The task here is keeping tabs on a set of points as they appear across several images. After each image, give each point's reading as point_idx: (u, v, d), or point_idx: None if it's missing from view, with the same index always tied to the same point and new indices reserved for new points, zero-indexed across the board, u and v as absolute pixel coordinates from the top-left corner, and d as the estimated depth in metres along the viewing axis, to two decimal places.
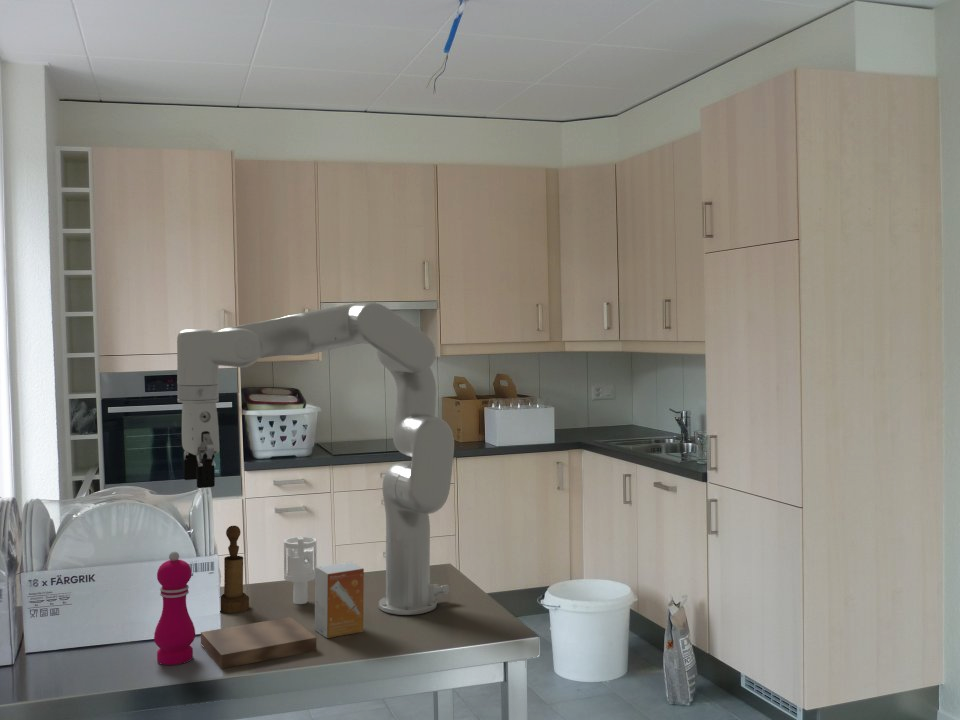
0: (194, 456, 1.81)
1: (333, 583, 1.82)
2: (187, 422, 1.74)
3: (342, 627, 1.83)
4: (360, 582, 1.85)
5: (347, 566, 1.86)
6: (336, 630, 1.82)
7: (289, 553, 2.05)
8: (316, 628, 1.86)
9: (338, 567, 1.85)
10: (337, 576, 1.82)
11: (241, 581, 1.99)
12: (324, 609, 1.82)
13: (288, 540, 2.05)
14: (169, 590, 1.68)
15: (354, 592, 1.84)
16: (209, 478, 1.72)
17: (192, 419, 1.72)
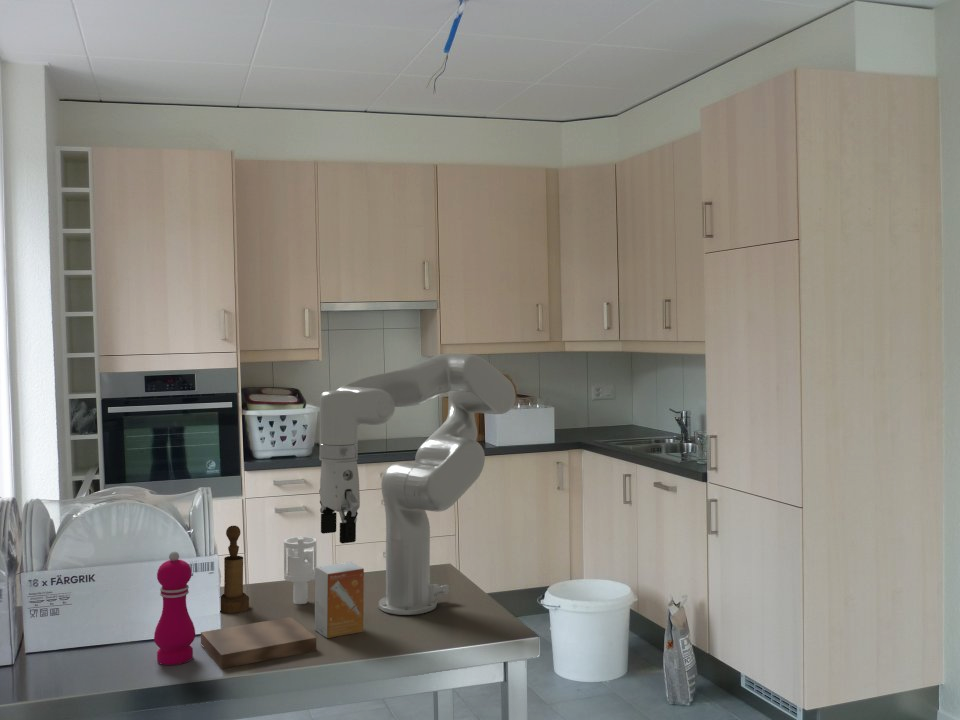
0: (330, 510, 1.89)
1: (333, 583, 1.82)
2: (329, 480, 1.82)
3: (342, 627, 1.83)
4: (360, 582, 1.85)
5: (347, 566, 1.86)
6: (336, 630, 1.82)
7: (289, 553, 2.05)
8: (316, 628, 1.86)
9: (338, 567, 1.85)
10: (337, 576, 1.82)
11: (241, 581, 1.99)
12: (325, 609, 1.82)
13: (288, 540, 2.05)
14: (169, 590, 1.68)
15: (354, 592, 1.84)
16: (351, 534, 1.80)
17: (336, 477, 1.80)
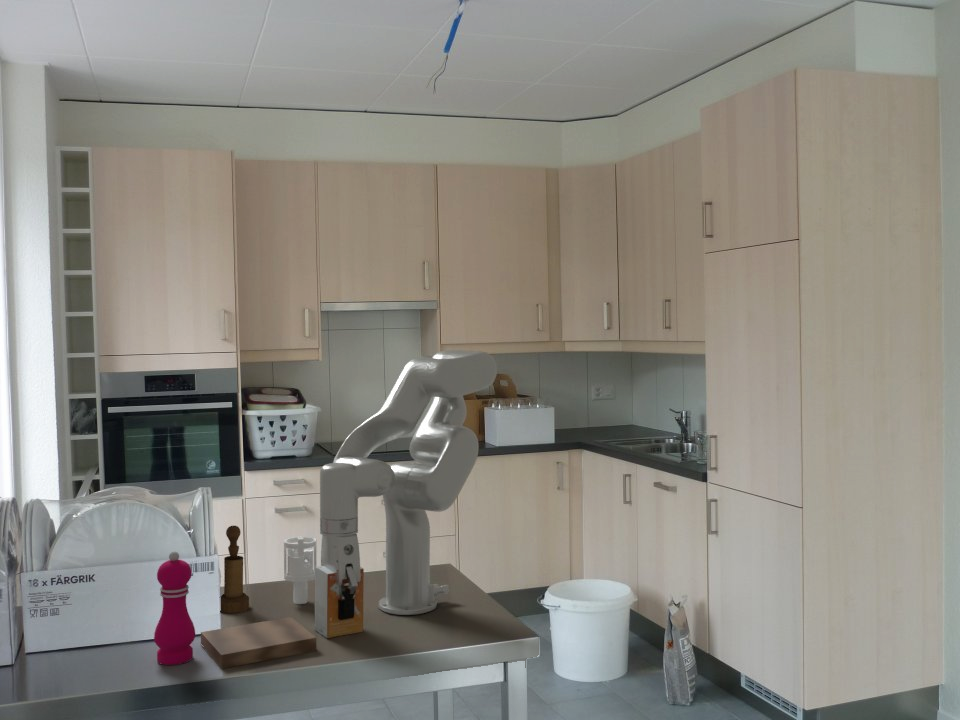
0: None
1: (332, 583, 1.82)
2: (330, 554, 1.83)
3: (342, 627, 1.83)
4: (360, 582, 1.85)
5: None
6: (336, 630, 1.82)
7: (289, 553, 2.05)
8: (316, 628, 1.86)
9: None
10: None
11: (241, 581, 1.99)
12: (324, 609, 1.82)
13: (288, 540, 2.05)
14: (169, 590, 1.68)
15: None
16: (350, 610, 1.82)
17: (336, 552, 1.81)
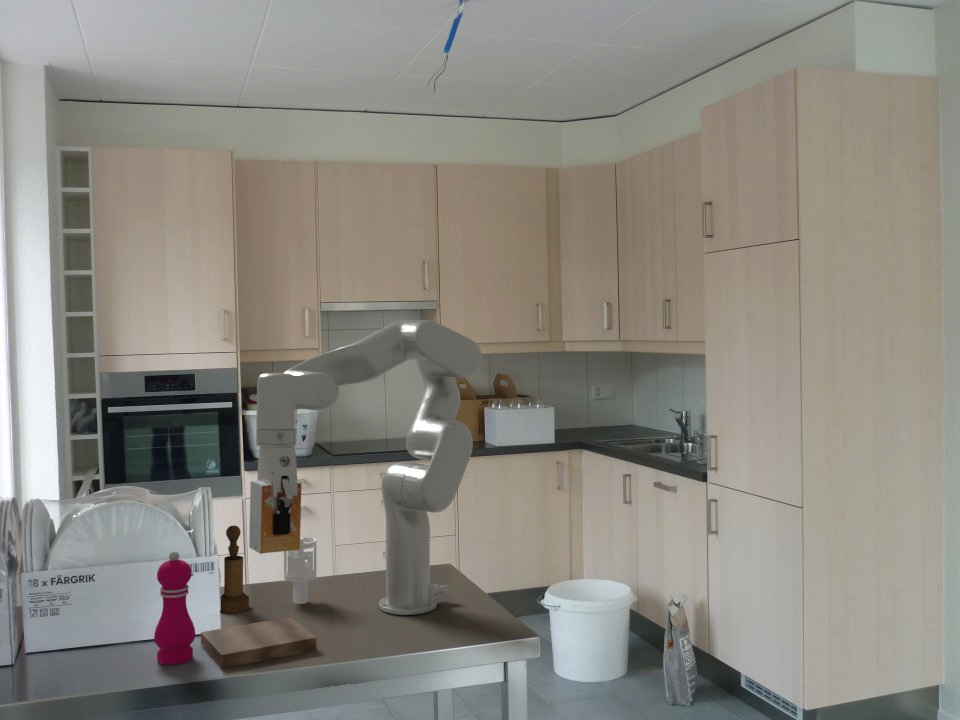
0: None
1: (267, 496, 1.73)
2: (266, 466, 1.74)
3: (277, 544, 1.75)
4: (297, 497, 1.76)
5: None
6: (270, 546, 1.74)
7: (289, 553, 2.05)
8: (250, 545, 1.77)
9: None
10: None
11: (241, 581, 1.99)
12: (258, 523, 1.73)
13: None
14: (169, 590, 1.68)
15: (291, 507, 1.76)
16: (285, 525, 1.74)
17: (272, 463, 1.73)
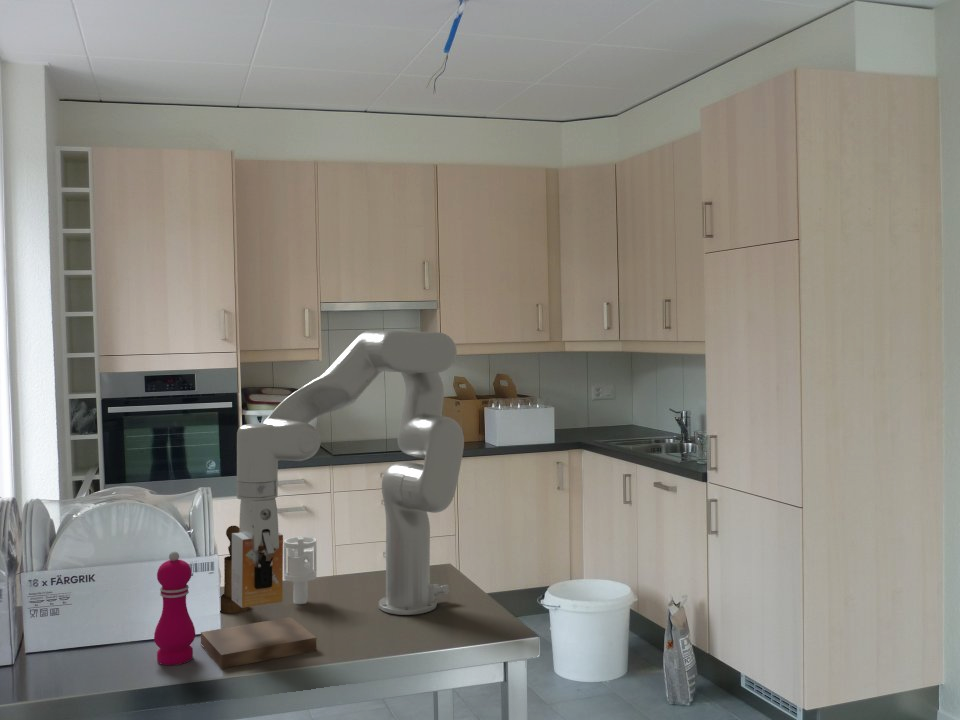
0: None
1: (248, 549, 1.71)
2: (247, 519, 1.73)
3: (259, 597, 1.73)
4: (279, 549, 1.75)
5: None
6: (252, 599, 1.72)
7: (289, 553, 2.05)
8: (232, 598, 1.76)
9: None
10: None
11: None
12: (240, 577, 1.72)
13: (288, 540, 2.05)
14: (169, 590, 1.68)
15: (273, 559, 1.74)
16: (267, 579, 1.72)
17: (252, 517, 1.71)
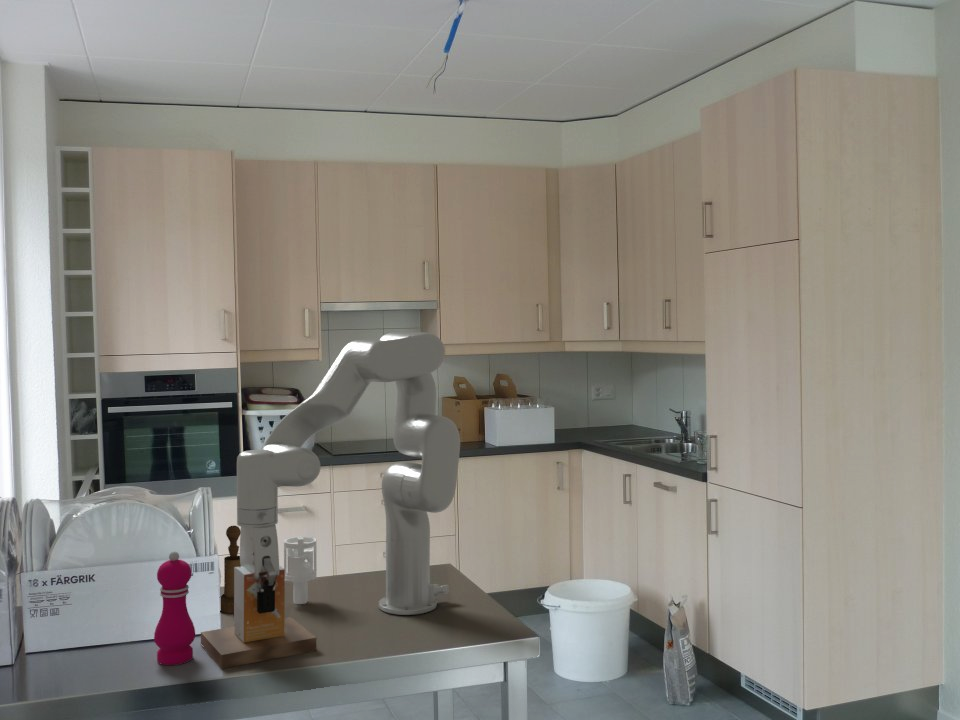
0: None
1: (250, 584, 1.72)
2: (247, 545, 1.73)
3: (261, 631, 1.73)
4: (281, 584, 1.75)
5: None
6: (254, 634, 1.72)
7: (289, 553, 2.05)
8: (235, 631, 1.76)
9: None
10: None
11: None
12: (241, 612, 1.72)
13: (288, 540, 2.05)
14: (169, 590, 1.68)
15: None
16: (270, 603, 1.71)
17: (253, 544, 1.71)
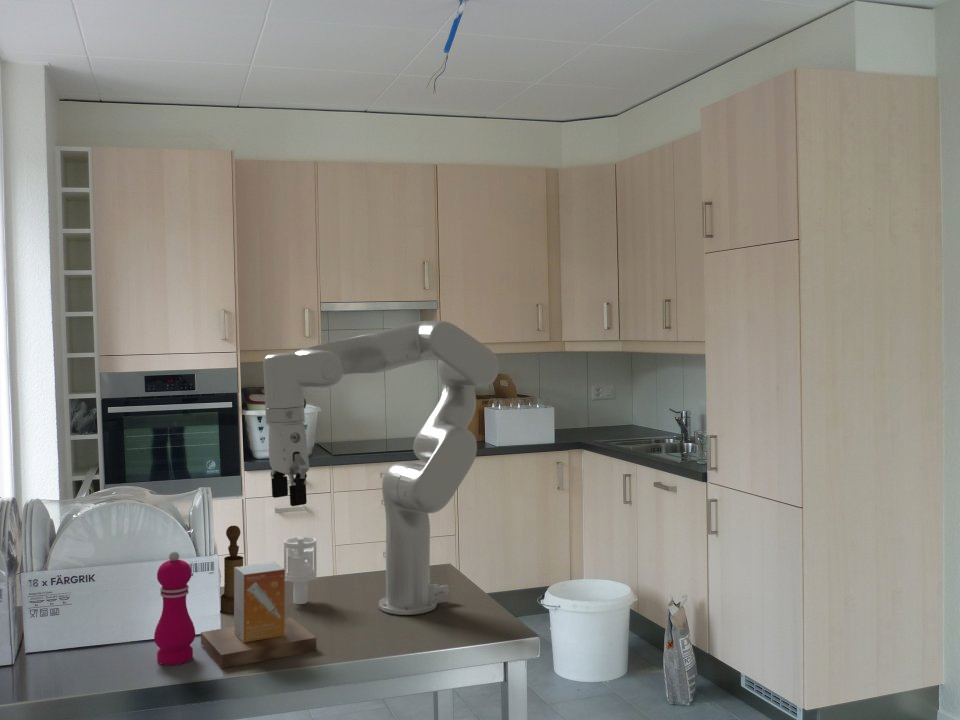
0: (281, 474, 1.88)
1: (250, 584, 1.72)
2: (277, 443, 1.81)
3: (261, 631, 1.73)
4: (281, 583, 1.75)
5: (268, 566, 1.76)
6: (254, 634, 1.72)
7: (289, 553, 2.05)
8: (235, 631, 1.76)
9: (258, 567, 1.75)
10: (255, 576, 1.72)
11: None
12: (241, 612, 1.72)
13: (288, 540, 2.05)
14: (169, 590, 1.68)
15: (274, 594, 1.74)
16: (302, 496, 1.80)
17: (283, 440, 1.79)
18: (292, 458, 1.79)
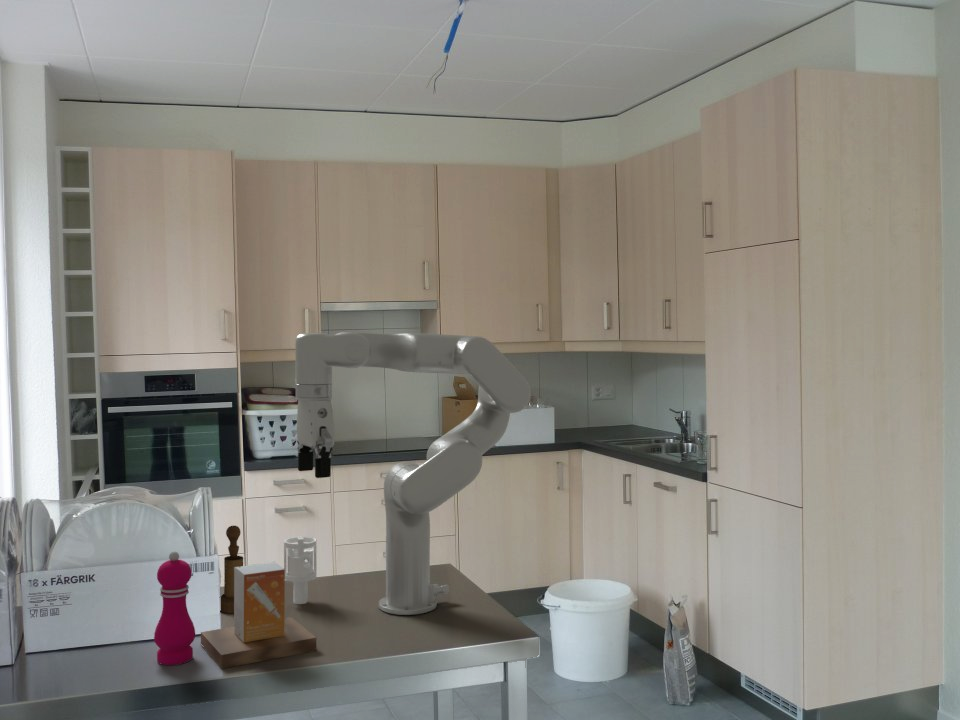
0: (307, 449, 1.98)
1: (250, 584, 1.72)
2: (305, 418, 1.91)
3: (261, 631, 1.73)
4: (281, 584, 1.75)
5: (268, 566, 1.76)
6: (254, 634, 1.72)
7: (289, 553, 2.05)
8: (235, 631, 1.76)
9: (258, 567, 1.75)
10: (255, 576, 1.72)
11: None
12: (241, 612, 1.72)
13: (288, 540, 2.05)
14: (169, 590, 1.68)
15: (274, 594, 1.74)
16: (326, 469, 1.89)
17: (311, 415, 1.89)
18: (319, 432, 1.89)
